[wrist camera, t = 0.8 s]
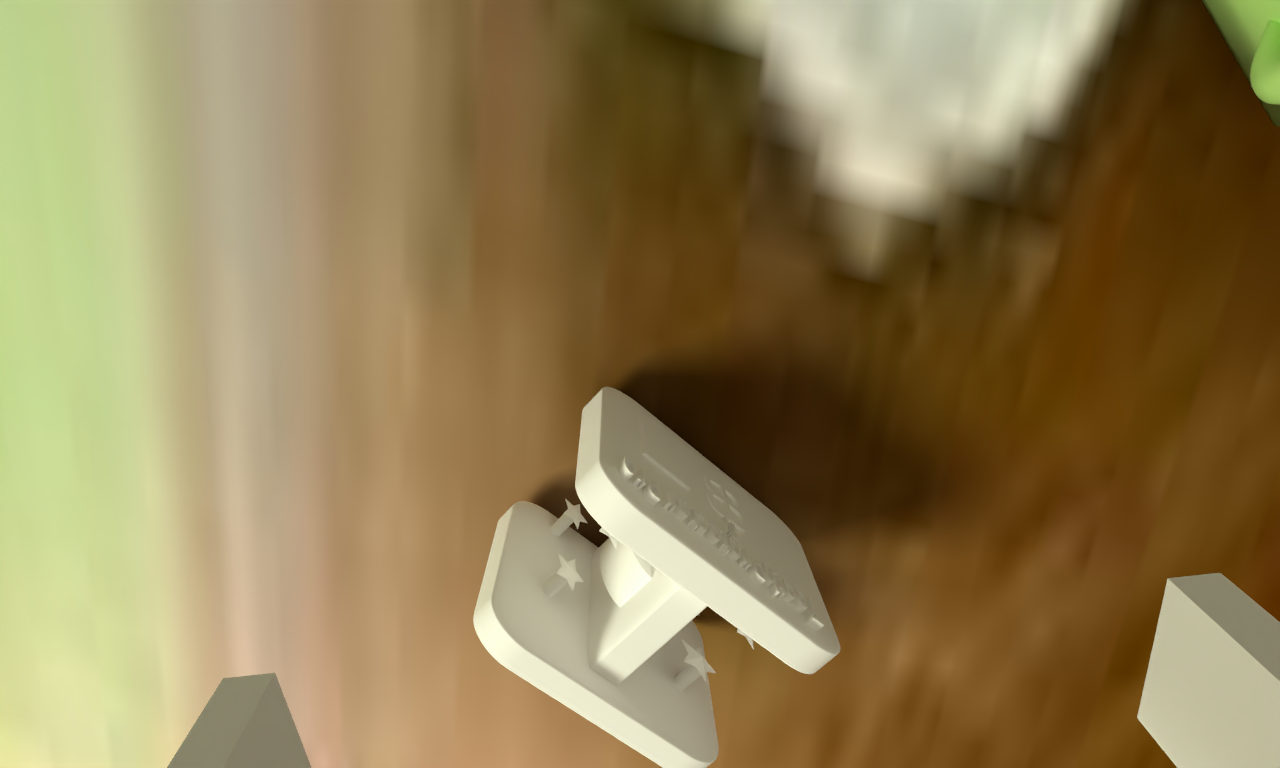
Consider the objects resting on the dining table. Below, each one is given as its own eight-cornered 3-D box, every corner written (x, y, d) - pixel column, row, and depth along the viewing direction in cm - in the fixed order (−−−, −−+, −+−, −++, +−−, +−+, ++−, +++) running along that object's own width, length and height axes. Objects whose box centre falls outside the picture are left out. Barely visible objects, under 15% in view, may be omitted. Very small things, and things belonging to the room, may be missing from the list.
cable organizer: (488, 493, 42) (445, 635, 32) (611, 363, 40) (609, 471, 29) (680, 630, 47) (700, 796, 36) (804, 521, 44) (864, 666, 33)
